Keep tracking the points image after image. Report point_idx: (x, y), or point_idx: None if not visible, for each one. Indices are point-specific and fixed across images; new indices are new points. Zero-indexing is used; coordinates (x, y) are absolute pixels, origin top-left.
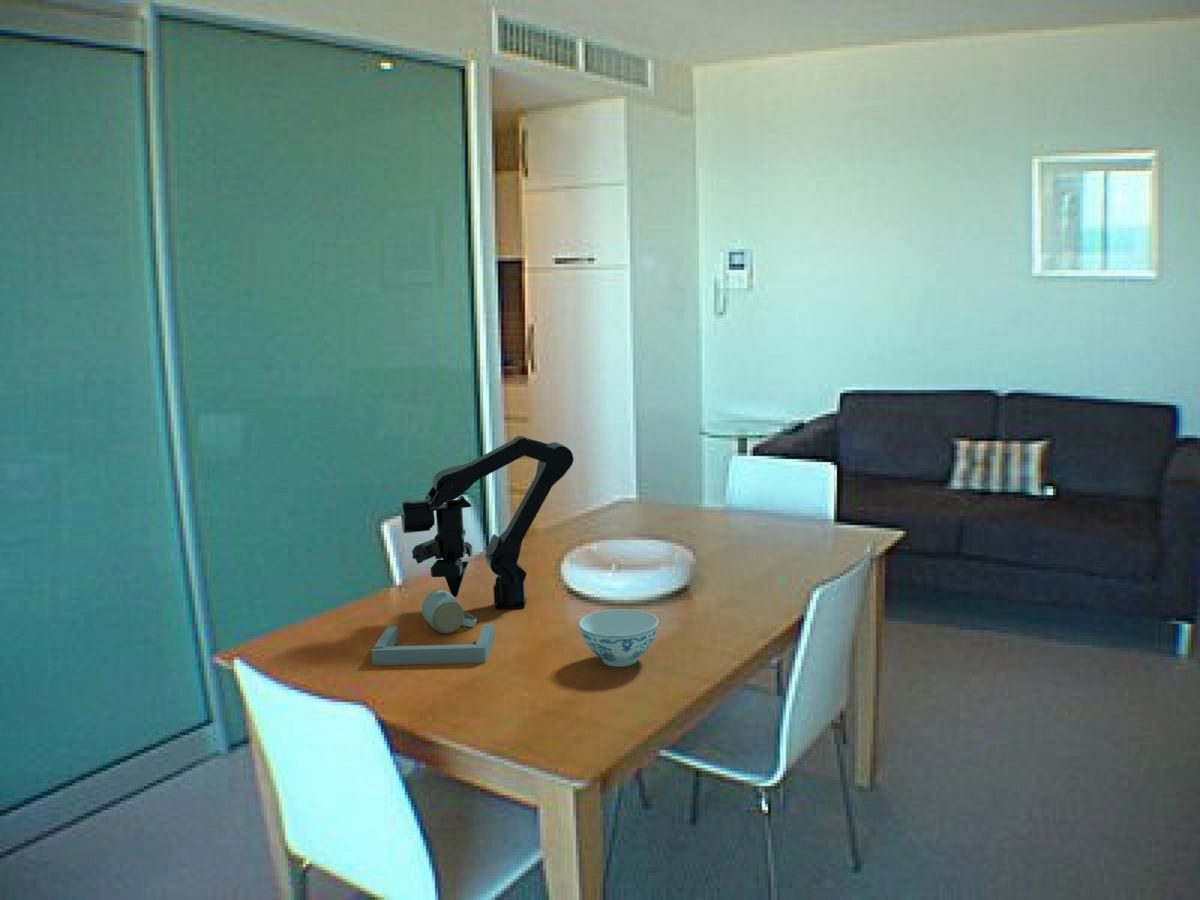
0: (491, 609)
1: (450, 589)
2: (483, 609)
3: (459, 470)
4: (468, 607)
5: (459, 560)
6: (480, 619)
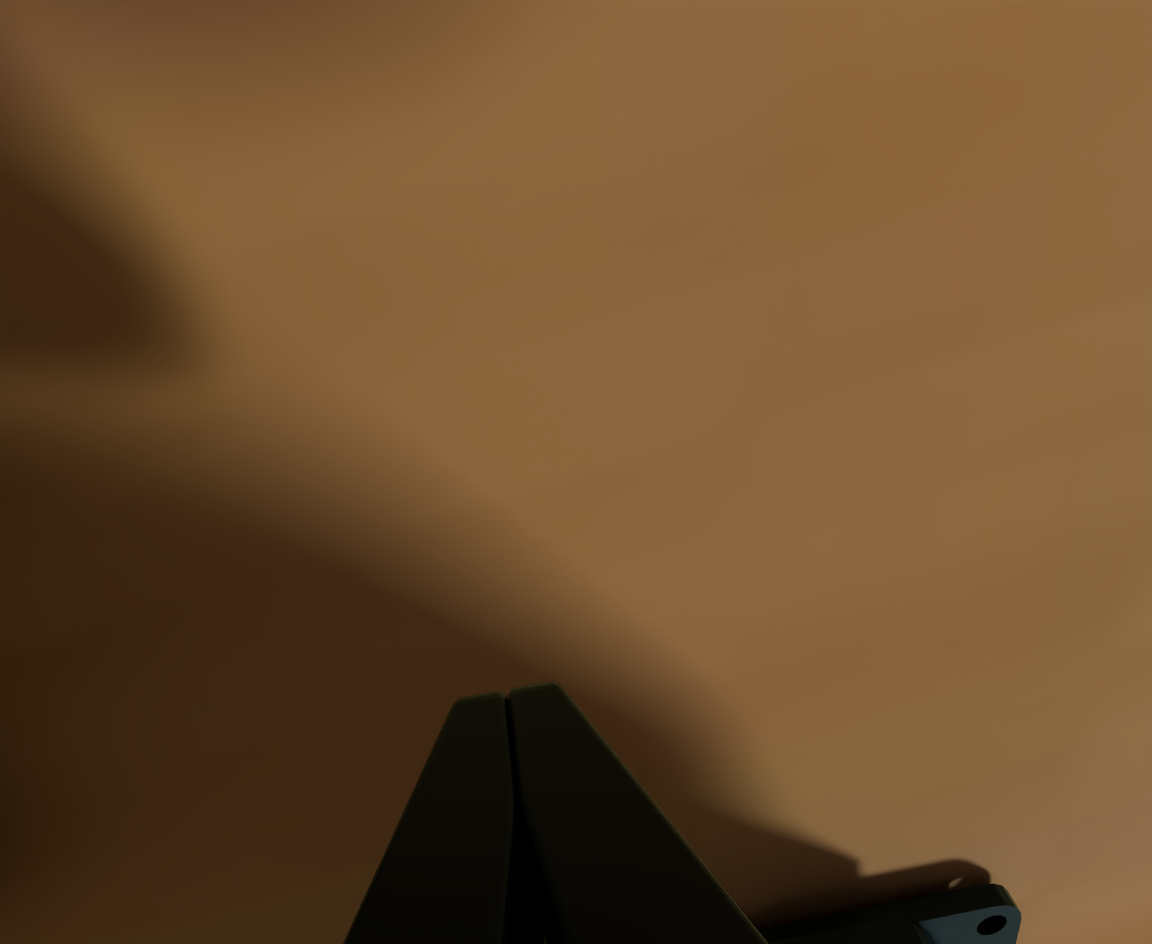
0: None
1: (371, 915)
2: None
3: None
4: (747, 614)
5: None
6: (167, 930)
